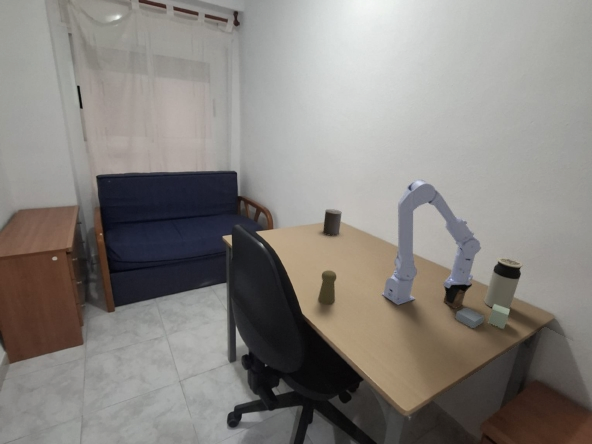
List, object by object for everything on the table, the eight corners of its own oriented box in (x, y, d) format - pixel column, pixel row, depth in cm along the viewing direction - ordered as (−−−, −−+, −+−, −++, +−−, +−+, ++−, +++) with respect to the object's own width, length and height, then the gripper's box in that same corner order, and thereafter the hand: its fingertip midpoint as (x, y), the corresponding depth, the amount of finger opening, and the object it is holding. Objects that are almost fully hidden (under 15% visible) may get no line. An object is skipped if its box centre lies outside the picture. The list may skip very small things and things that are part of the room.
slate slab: (472, 329, 95) (475, 321, 94) (454, 319, 100) (456, 311, 99) (482, 324, 98) (484, 316, 97) (464, 314, 103) (466, 307, 102)
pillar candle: (322, 234, 173) (325, 210, 168) (323, 229, 182) (326, 206, 178) (338, 236, 172) (342, 212, 167) (339, 231, 181) (342, 208, 176)
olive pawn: (324, 305, 102) (327, 277, 99) (315, 296, 107) (317, 269, 104) (338, 302, 105) (341, 274, 102) (328, 293, 110) (331, 267, 107)
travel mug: (509, 314, 104) (524, 268, 99) (484, 306, 108) (497, 262, 103) (508, 304, 111) (522, 261, 106) (484, 297, 115) (496, 255, 110)
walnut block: (454, 308, 106) (458, 295, 104) (443, 302, 110) (446, 289, 108) (461, 305, 108) (465, 292, 106) (450, 299, 112) (453, 286, 110)
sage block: (503, 329, 96) (508, 315, 94) (487, 323, 99) (492, 309, 97) (505, 323, 99) (509, 309, 98) (489, 317, 102) (494, 303, 100)
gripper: (460, 275, 97) (451, 311, 102) (484, 268, 105) (475, 301, 109) (441, 267, 103) (433, 300, 107) (465, 260, 110) (457, 292, 114)
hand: (453, 300), depth 108 cm, fingers closed on walnut block, 4 cm apart
